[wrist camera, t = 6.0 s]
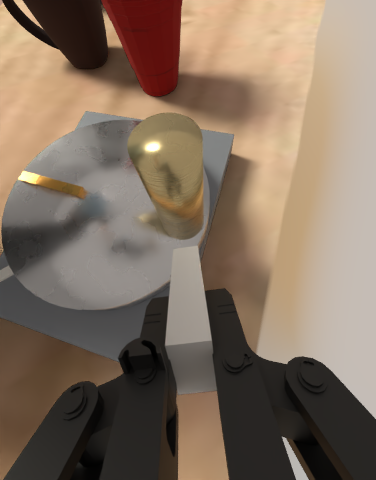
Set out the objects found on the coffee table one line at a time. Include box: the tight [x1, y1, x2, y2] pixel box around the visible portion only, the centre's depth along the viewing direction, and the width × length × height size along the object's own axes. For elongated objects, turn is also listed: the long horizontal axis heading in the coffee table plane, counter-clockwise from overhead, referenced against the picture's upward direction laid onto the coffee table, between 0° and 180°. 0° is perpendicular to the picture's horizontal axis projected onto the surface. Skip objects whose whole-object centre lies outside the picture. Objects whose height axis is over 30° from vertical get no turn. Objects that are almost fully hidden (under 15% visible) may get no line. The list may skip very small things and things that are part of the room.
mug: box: [2, 0, 108, 69], centre depth 31 cm, size 10×14×12 cm
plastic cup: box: [101, 0, 182, 96], centre depth 27 cm, size 11×11×12 cm
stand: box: [0, 111, 234, 362], centre depth 23 cm, size 26×20×3 cm
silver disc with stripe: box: [1, 113, 210, 310], centre depth 16 cm, size 20×20×11 cm
